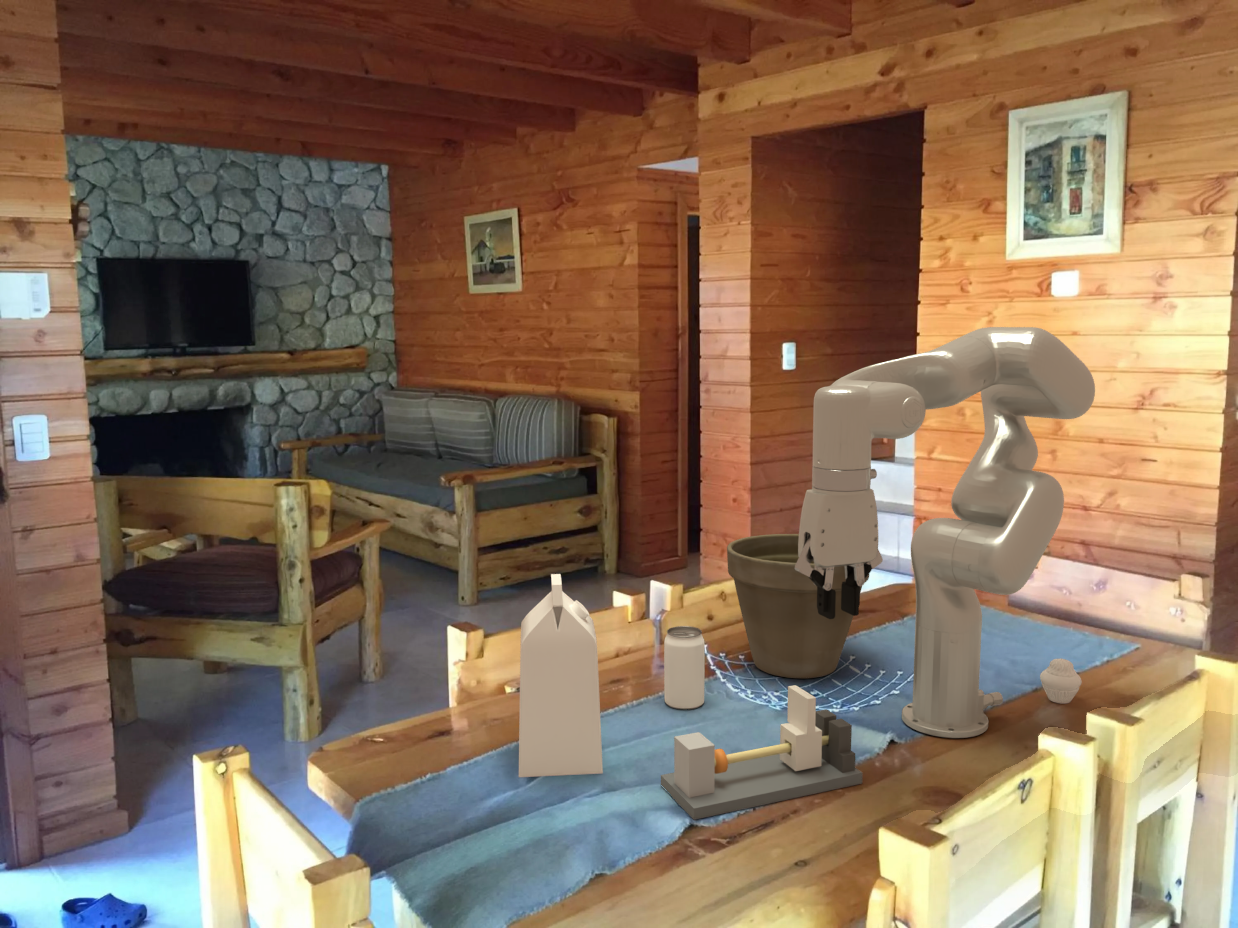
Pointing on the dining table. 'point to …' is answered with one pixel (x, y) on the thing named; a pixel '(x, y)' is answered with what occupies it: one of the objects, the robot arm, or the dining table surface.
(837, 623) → the plant pot
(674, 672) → the can
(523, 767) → the milk
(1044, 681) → the muffin
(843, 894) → the dining table surface
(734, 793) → the slider mechanism
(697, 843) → the dining table surface
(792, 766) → the sleeve
